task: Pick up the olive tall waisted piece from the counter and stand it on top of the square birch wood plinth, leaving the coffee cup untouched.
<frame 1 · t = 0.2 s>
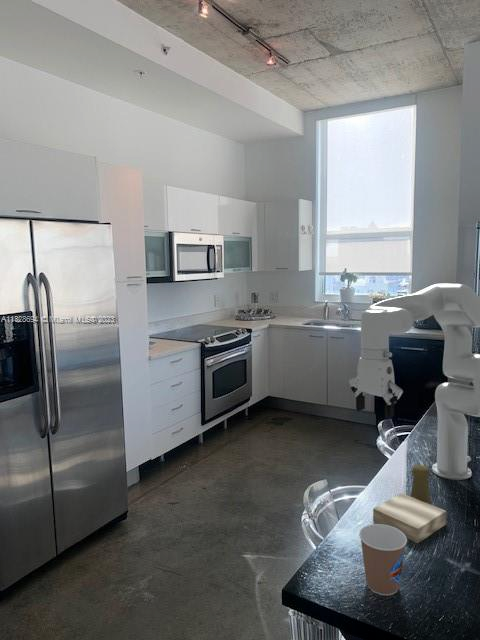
hand: (374, 413, 136), 31 cm above the countertop, tool pointing down, fingers open, 9 cm apart
coffee cup: (382, 586, 110), on the countertop
olive tall waisted piece: (420, 501, 148), on the countertop
birch plinth: (409, 523, 135), on the countertop
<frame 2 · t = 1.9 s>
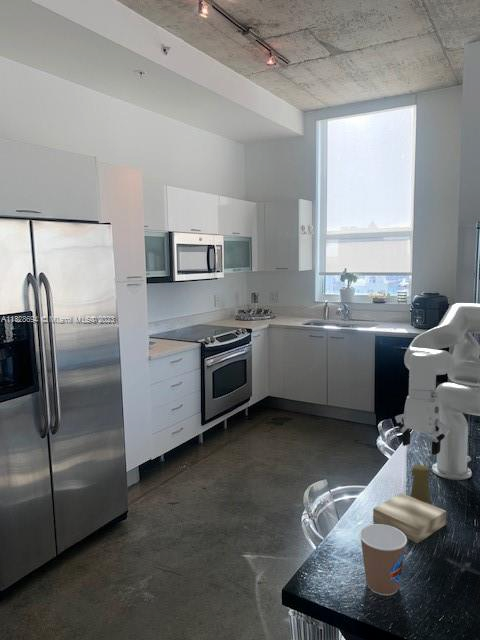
hand: (420, 449, 145), 17 cm above the countertop, tool pointing down, fingers open, 9 cm apart
nothing on the countertop moved.
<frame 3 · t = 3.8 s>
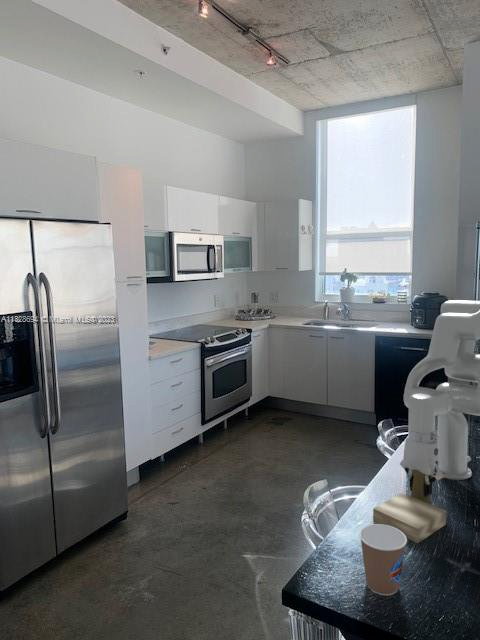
hand: (420, 491, 147), 3 cm above the countertop, tool pointing down, fingers closed on olive tall waisted piece, 4 cm apart
olive tall waisted piece: (420, 501, 148), on the countertop, touching gripper
everything else where it was.
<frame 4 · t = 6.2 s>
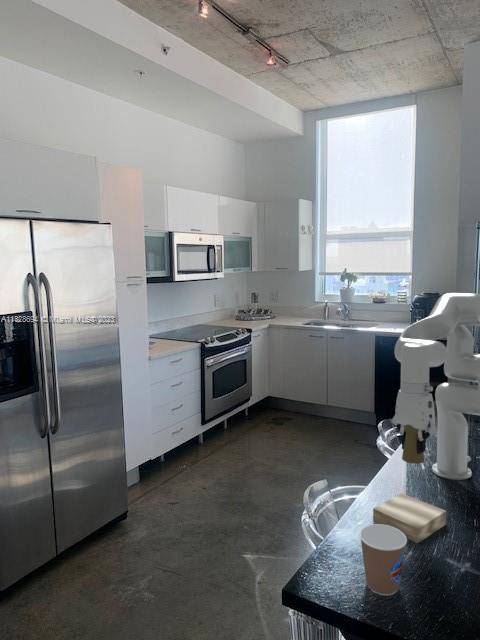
hand: (413, 449, 137), 20 cm above the countertop, tool pointing down, fingers closed on olive tall waisted piece, 4 cm apart
olive tall waisted piece: (413, 460, 137), point 17 cm above the countertop, touching gripper
everything else where it was.
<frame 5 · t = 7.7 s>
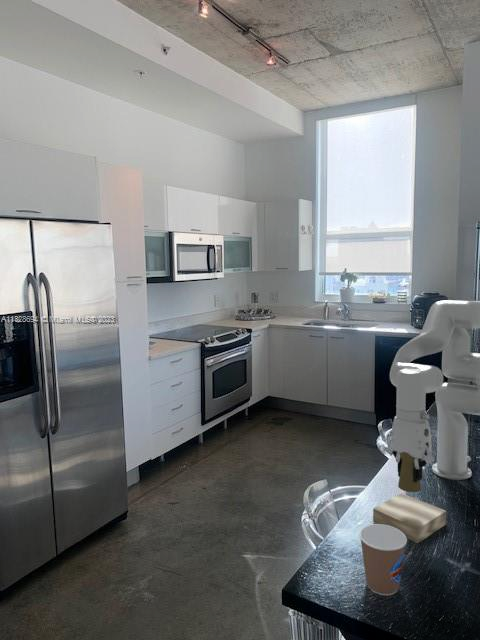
hand: (409, 477, 134), 13 cm above the countertop, tool pointing down, fingers closed on olive tall waisted piece, 4 cm apart
olive tall waisted piece: (409, 487, 134), point 10 cm above the countertop, touching gripper
everything else where it was.
when the fingers open (8 cm above the countertop, at t = 9.0 s): olive tall waisted piece drops 1 cm, resting on birch plinth.
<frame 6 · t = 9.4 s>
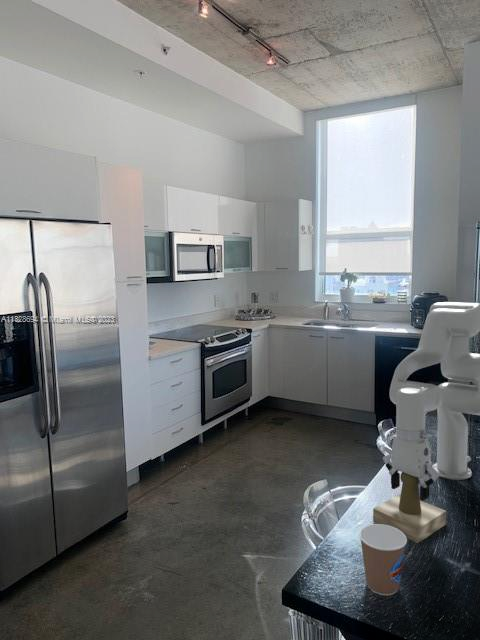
hand: (409, 493, 134), 9 cm above the countertop, tool pointing down, fingers open, 8 cm apart
olive tall waisted piece: (409, 510, 135), point 4 cm above the countertop, touching birch plinth
everything else where it was.
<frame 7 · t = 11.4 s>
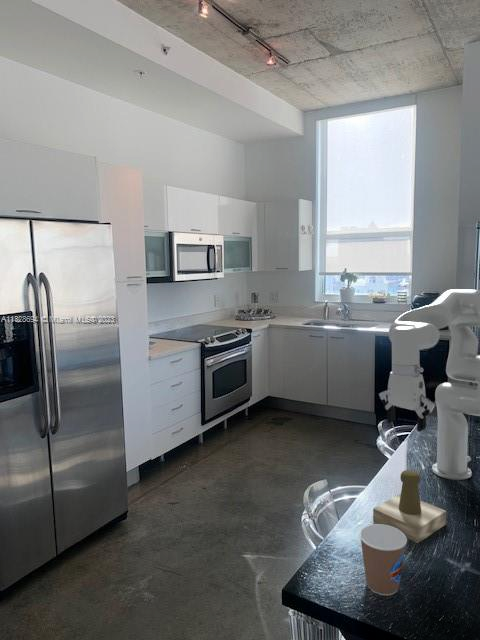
hand: (405, 425, 141), 25 cm above the countertop, tool pointing down, fingers open, 9 cm apart
nothing on the countertop moved.
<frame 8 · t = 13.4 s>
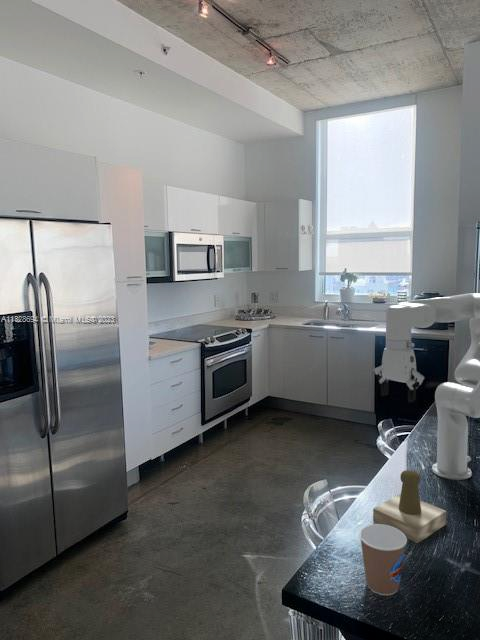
hand: (397, 398, 152), 30 cm above the countertop, tool pointing down, fingers open, 9 cm apart
nothing on the countertop moved.
at the end: olive tall waisted piece inside the target area on the birch plinth (0.2 cm from its centre), point 3.8 cm above the birch plinth's base; olive tall waisted piece tilted 0°; coffee cup moved 0.2 cm from its start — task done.
